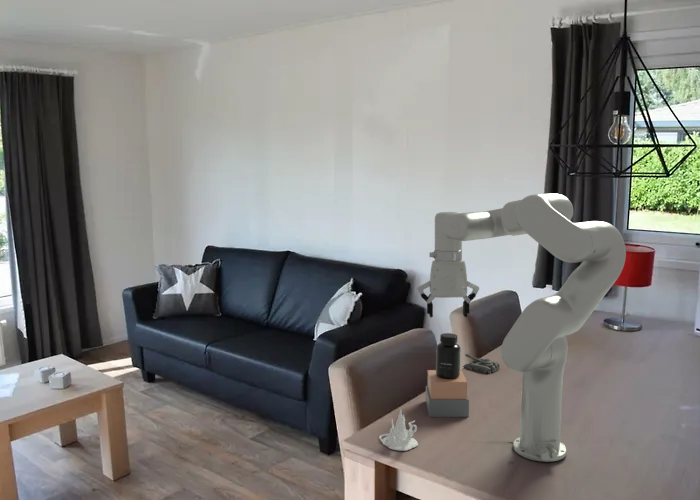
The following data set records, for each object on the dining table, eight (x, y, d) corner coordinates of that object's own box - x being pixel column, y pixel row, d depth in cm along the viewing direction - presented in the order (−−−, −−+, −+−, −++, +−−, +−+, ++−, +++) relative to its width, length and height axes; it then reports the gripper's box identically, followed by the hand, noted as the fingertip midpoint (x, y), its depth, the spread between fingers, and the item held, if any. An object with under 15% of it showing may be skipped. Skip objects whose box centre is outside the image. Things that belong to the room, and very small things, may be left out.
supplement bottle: (441, 380, 167) (442, 339, 166) (432, 373, 174) (432, 333, 172) (464, 378, 169) (464, 337, 168) (453, 370, 176) (454, 331, 174)
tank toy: (458, 371, 207) (458, 356, 206) (472, 364, 214) (472, 350, 213) (489, 378, 199) (489, 363, 198) (503, 371, 206) (503, 356, 205)
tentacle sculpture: (395, 430, 159) (395, 397, 158) (429, 445, 150) (429, 410, 149) (371, 440, 153) (371, 405, 152) (404, 456, 144) (404, 420, 143)
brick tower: (468, 417, 167) (469, 382, 166) (429, 416, 167) (429, 382, 166) (462, 402, 178) (463, 369, 177) (425, 401, 178) (425, 369, 177)
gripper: (418, 258, 163) (418, 319, 165) (481, 257, 163) (481, 319, 165) (416, 255, 171) (416, 313, 173) (476, 254, 170) (476, 313, 172)
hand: (448, 316), depth 169 cm, fingers open, 9 cm apart
